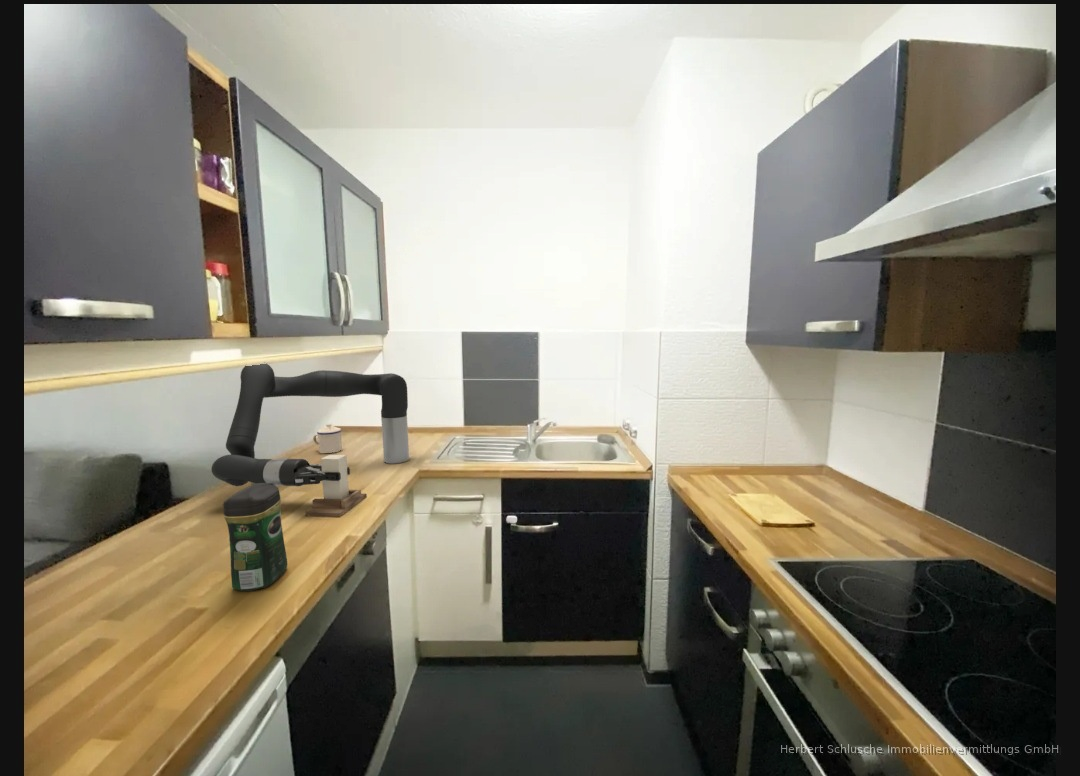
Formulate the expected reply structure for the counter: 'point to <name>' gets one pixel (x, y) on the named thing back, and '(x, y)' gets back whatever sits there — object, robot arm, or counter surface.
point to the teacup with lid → (328, 439)
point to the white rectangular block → (335, 487)
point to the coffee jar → (255, 536)
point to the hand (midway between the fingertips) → (344, 473)
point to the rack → (335, 505)
